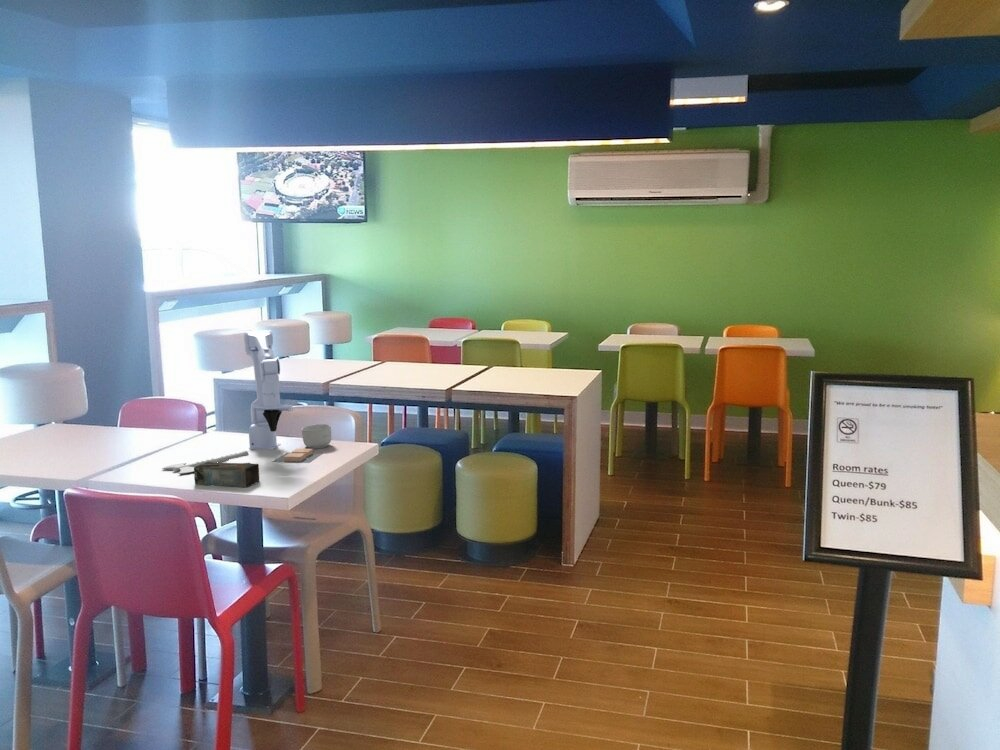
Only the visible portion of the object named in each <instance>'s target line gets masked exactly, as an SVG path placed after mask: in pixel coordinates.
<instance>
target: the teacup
mask: <svg viewBox="0 0 1000 750" xmlns="http://www.w3.org/2000/svg"><path fill="white" fill-rule="evenodd" d="M300 429H301V436H302V441H303V444H304V446H305V447H307V448H308V449H324V448H326V447H328V446H329V444H330V443H331V442H332V426H331V424H328V423H321V424H320V423H315V424H310V425H305V426H303V427H302V428H300Z"/></svg>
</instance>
